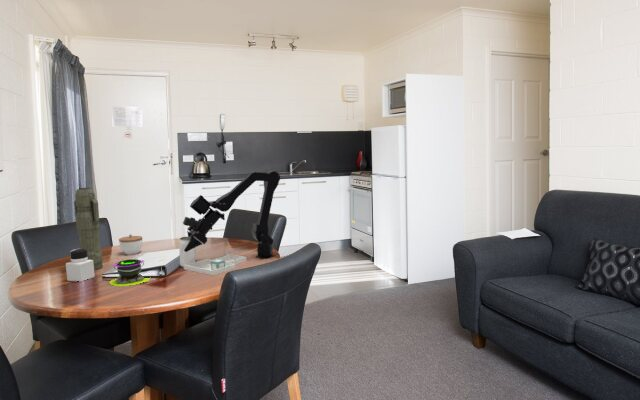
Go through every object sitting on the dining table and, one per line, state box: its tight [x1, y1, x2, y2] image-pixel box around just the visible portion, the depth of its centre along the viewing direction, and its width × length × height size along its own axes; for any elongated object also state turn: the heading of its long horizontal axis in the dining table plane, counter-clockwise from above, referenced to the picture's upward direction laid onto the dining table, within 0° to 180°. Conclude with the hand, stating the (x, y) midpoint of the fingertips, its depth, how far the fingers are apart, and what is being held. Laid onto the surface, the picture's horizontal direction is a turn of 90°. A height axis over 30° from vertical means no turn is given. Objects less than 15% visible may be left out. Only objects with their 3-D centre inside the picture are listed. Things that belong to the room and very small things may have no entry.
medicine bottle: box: [65, 248, 96, 283], centre depth 187 cm, size 7×7×12 cm
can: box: [178, 236, 197, 268], centre depth 201 cm, size 6×6×12 cm
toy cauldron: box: [109, 252, 151, 287], centre depth 182 cm, size 15×15×11 cm
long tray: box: [183, 258, 237, 276], centre depth 195 cm, size 12×18×2 cm
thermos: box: [73, 187, 104, 271], centre depth 202 cm, size 9×12×35 cm
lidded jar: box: [118, 234, 143, 256], centre depth 231 cm, size 11×11×9 cm
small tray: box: [212, 254, 248, 265], centre depth 205 cm, size 10×10×2 cm
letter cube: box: [211, 259, 225, 270], centre depth 191 cm, size 4×4×4 cm
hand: (183, 249), depth 200 cm, fingers closed on can, 6 cm apart
